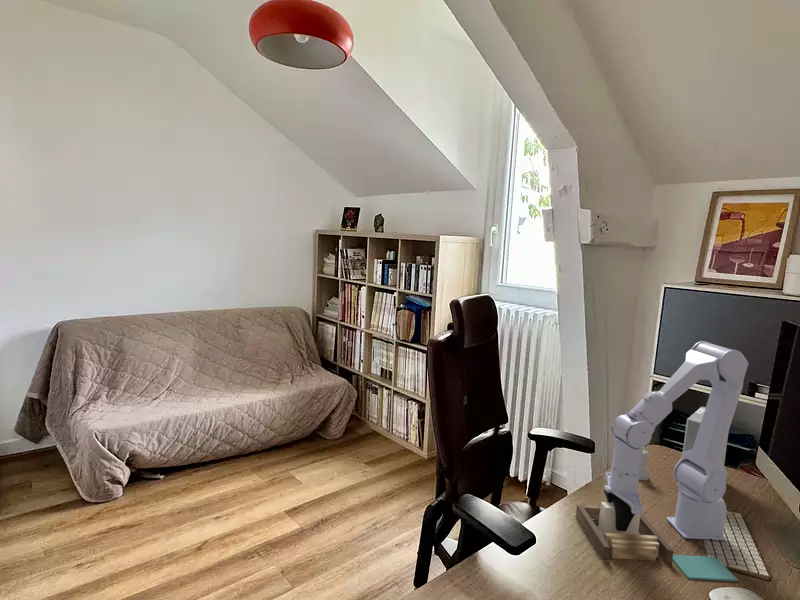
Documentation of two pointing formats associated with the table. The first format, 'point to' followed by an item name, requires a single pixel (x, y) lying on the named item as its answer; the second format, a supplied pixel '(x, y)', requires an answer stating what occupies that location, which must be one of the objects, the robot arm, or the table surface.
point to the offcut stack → (632, 546)
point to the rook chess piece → (644, 466)
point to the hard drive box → (693, 429)
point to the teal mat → (703, 568)
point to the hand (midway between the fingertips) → (618, 526)
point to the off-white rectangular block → (609, 521)
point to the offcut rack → (585, 518)
